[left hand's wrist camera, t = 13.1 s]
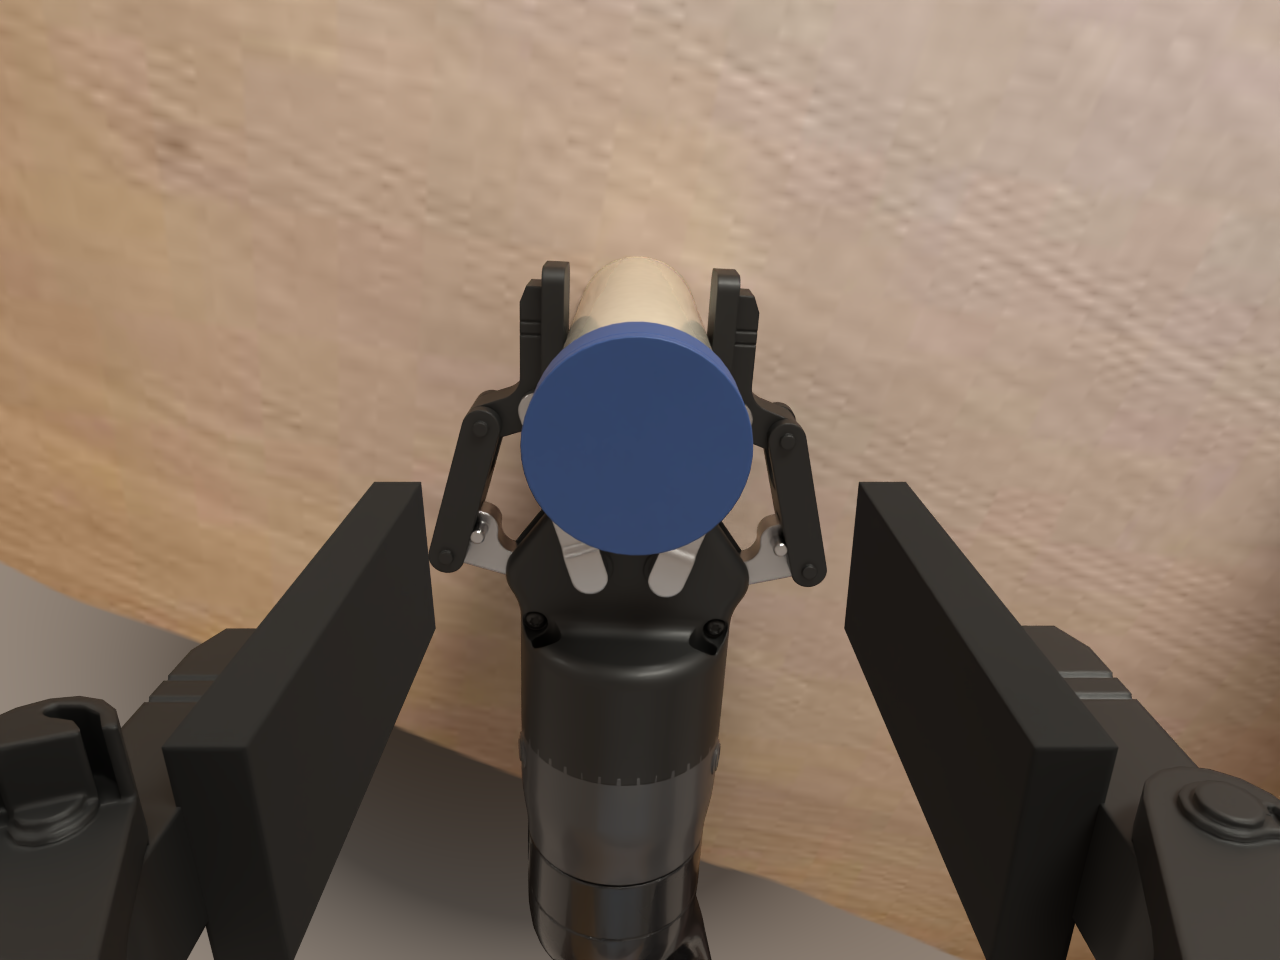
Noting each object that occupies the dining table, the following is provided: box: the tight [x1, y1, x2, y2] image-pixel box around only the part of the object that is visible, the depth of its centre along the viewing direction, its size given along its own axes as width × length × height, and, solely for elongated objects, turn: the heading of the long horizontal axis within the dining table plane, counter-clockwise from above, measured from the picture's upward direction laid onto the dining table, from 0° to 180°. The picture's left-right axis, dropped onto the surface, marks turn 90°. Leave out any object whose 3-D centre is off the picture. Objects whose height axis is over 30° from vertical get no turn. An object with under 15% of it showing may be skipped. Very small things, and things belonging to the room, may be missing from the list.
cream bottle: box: [562, 257, 713, 351], centre depth 26 cm, size 5×5×16 cm
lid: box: [520, 322, 753, 555], centre depth 19 cm, size 5×5×2 cm
